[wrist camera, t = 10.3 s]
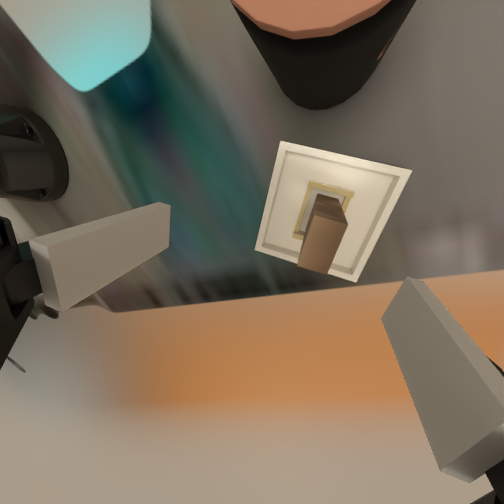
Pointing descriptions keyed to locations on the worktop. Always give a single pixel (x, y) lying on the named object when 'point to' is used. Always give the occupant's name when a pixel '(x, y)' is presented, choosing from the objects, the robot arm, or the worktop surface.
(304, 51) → the coffee jar
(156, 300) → the worktop surface
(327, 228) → the wooden wedge
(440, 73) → the worktop surface
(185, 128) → the worktop surface
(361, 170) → the candle dish
